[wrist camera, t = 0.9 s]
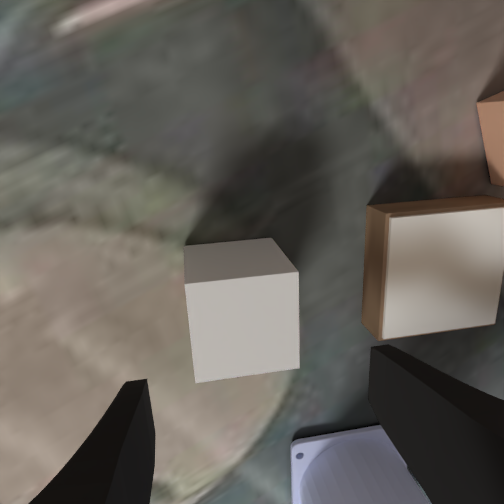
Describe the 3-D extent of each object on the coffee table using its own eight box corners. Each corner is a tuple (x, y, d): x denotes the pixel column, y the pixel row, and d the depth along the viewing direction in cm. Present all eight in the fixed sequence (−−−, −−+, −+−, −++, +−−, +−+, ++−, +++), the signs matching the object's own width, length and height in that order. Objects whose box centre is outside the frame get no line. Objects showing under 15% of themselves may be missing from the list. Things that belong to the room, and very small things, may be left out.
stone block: (274, 315, 22) (299, 367, 17) (192, 325, 21) (195, 383, 16) (271, 237, 20) (298, 271, 16) (183, 246, 20) (184, 283, 15)
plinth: (467, 306, 24) (497, 326, 22) (360, 321, 23) (379, 343, 21) (482, 194, 22) (518, 202, 20) (364, 204, 21) (387, 214, 19)
